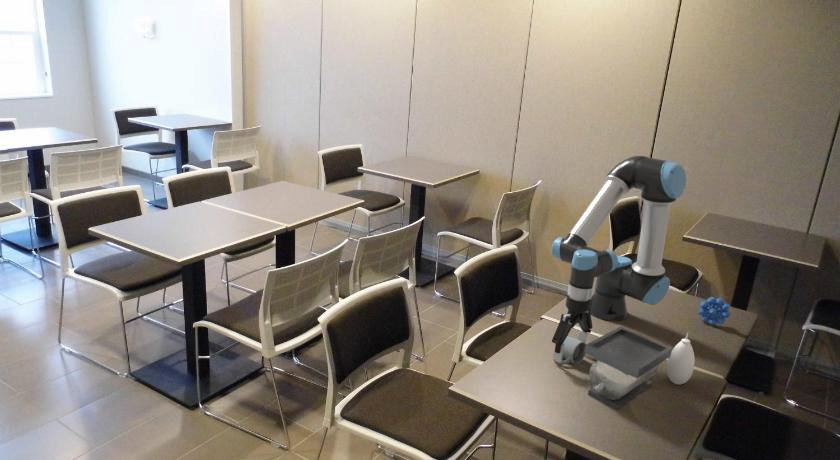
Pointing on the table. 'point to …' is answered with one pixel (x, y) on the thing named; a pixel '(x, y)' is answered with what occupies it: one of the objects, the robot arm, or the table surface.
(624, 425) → the table surface
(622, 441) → the table surface
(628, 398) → the grey piece
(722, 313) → the grapes
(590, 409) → the table surface
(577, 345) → the ceramic mug
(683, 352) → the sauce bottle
